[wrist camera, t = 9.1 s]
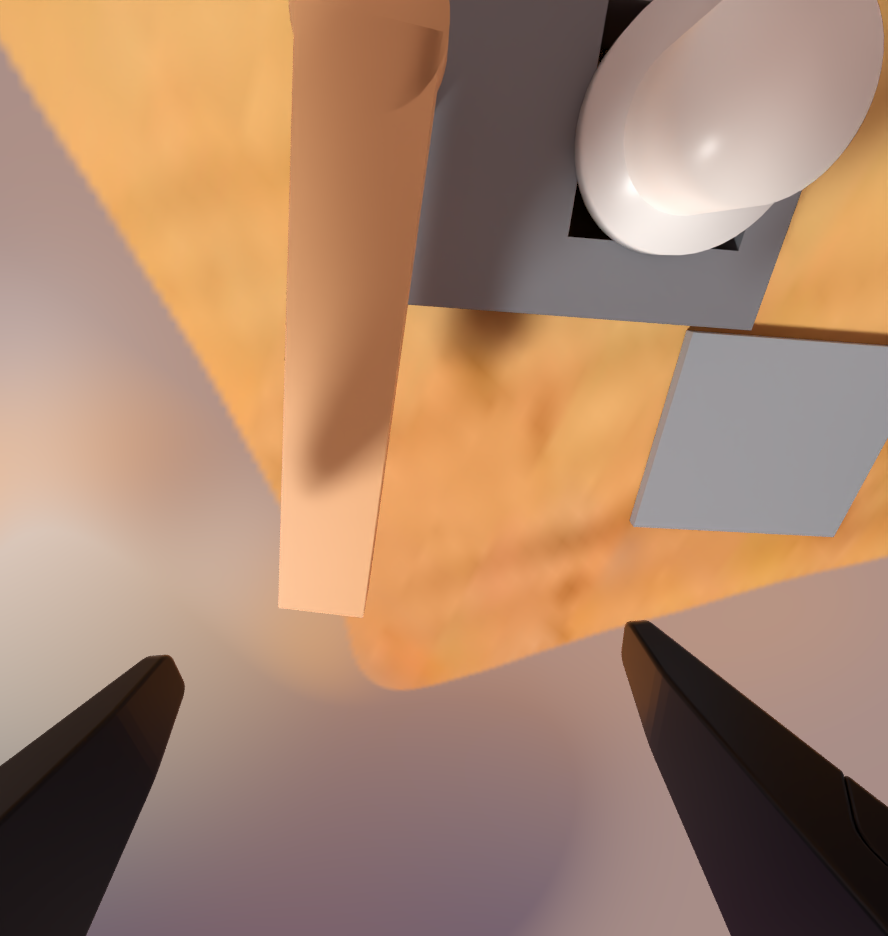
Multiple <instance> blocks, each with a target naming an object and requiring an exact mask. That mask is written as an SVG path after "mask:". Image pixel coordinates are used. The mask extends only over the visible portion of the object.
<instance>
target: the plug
mask: <svg viewBox="0 0 888 936" xmlns="http://www.w3.org/2000/svg"><path fill="white" fill-rule="evenodd" d="M883 53H884V31H883V21H882V16H881V12H880V8H879V4H878V2H877V0H653V1H652V2H651V3H650V4H649V5H648V6H647V7H645V8H644V9H643V10H642V11H641V12H640V14H639V15H638V16H637V17H636V18H635V19H634V20H633V21H632V22H631V24H630V25H629V26H628V27H627V28H626V29H625V30H624V32H623V33H622V34H621V35H620V36H619V37H618V39H617V40H616V41H615V42H614V43H613V45H612V46H611V48H610V49H609V50H608V52H607V53H606V55H605V56H604V57H603V59H602V61H601V62H600V64H599V66H598V68H597V69H596V71H595V73H594V75H593V77H592V79H591V82H590V84H589V86H588V88H587V91H586V93H585V97H584V100H583V103H582V106H581V109H580V113H579V118H578V123H577V128H576V137H575V168H576V177H577V181H578V185H579V190H580V193H581V196H582V198H583V201H584V204H585V206H586V208H587V210H588V211H589V213H590V215H591V217H592V218H593V220H594V221H595V222H596V224H597V225H598V227H599V228H600V229H601V230H602V231H603V232H604V233H605V234H606V235H607V236H608V237H610V238H611V239H612V240H614V241H615V242H616V243H618V244H620V245H622V246H624V247H626V248H628V249H630V250H633V251H636V252H639V253H644V254H651V255H686V254H693V253H698V252H701V251H705V250H709V249H711V248H713V247H716V246H718V245H721V244H723V243H725V242H726V241H728V240H730V239H732V238H734V237H735V236H737V235H738V234H740V233H741V232H743V231H744V230H745V229H747V228H748V227H750V226H751V225H752V224H753V223H754V222H755V221H757V220H758V219H759V218H760V217H761V216H762V215H763V214H764V213H765V212H766V211H767V210H768V209H769V208H770V207H771V206H772V205H773V204H774V202H778V201H780V200H783V199H785V198H787V197H790V196H792V195H793V194H795V193H797V192H799V191H801V190H802V189H804V188H805V187H807V186H808V185H809V184H811V183H812V182H814V181H815V180H816V179H817V178H818V177H820V176H821V175H822V174H823V173H824V172H825V171H826V170H827V169H828V168H829V167H830V166H831V165H832V164H833V163H834V162H835V161H836V160H837V159H838V158H839V156H840V155H841V154H842V153H843V151H844V150H845V149H846V148H847V146H848V145H849V143H850V142H851V140H852V139H853V137H854V136H855V134H856V133H857V131H858V129H859V128H860V126H861V124H862V122H863V120H864V118H865V116H866V114H867V112H868V110H869V107H870V105H871V103H872V100H873V97H874V94H875V91H876V88H877V85H878V81H879V77H880V73H881V68H882V60H883Z"/></svg>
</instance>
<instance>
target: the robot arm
mask: <svg viewBox="0 0 888 936" xmlns="http://www.w3.org/2000/svg"><path fill="white" fill-rule="evenodd" d="M621 653H622V661H623V665H624V668H625V671H626V675H627V678H628V681H629V684H630V687H631V690H632V694H633V697H634V700H635V703H636V706H637V709H638V712H639V716H640V719H641V722H642V725H643V728H644V731H645V734H646V737H647V740H648V743H649V746H650V748H651V751H652V753H653V756H654V758H655V761H656V763H657V765H658V768H659V770H660V772H661V774H662V777H663V779H664V782H665V784H666V786H667V788H668V791H669V793H670V795H671V798H672V800H673V802H674V805H675V807H676V809H677V812H678V814H679V816H680V819H681V821H682V823H683V826H684V828H685V830H686V833H687V835H688V837H689V839H690V842H691V844H692V846H693V849H694V851H695V853H696V856H697V858H698V860H699V863H700V865H701V867H702V870H703V872H704V874H705V876H706V879H707V881H708V884H709V886H710V888H711V890H712V893H713V895H714V897H715V900H716V902H717V904H718V906H719V909H720V911H721V914H722V916H723V918H724V921H725V923H726V925H727V928H728V930H729V932H730V935H731V936H888V807H887V806H886V805H885V804H884V803H882V802H881V801H880V800H878V799H877V798H876V797H874V796H873V795H872V794H871V793H869V792H868V791H867V790H865V789H864V788H863V787H862V786H860V785H859V784H858V783H856V782H855V781H854V780H853V779H851V778H850V777H848V776H845V777H844V775H843V773H842V771H841V770H839V769H838V768H837V767H836V766H834V765H833V764H832V763H831V762H829V761H828V760H827V759H825V758H824V757H822V755H820V754H819V753H818V752H816V751H815V750H814V749H812V748H811V747H810V746H809V745H807V744H806V743H805V742H803V741H802V740H801V739H799V738H798V737H797V736H796V735H795V734H793V733H792V732H791V731H789V730H788V729H787V728H785V727H784V726H783V725H782V724H781V723H779V722H778V721H777V720H775V719H774V718H773V717H772V716H770V715H769V714H768V713H766V712H765V711H764V710H762V709H761V708H760V707H759V706H757V705H756V704H755V703H754V702H752V701H751V700H749V699H748V698H747V697H746V696H745V695H743V694H742V693H740V692H739V691H738V690H737V689H736V688H734V687H733V686H732V685H731V684H729V683H728V682H727V681H725V680H724V679H723V678H722V677H720V676H719V675H718V674H716V673H715V672H714V671H713V670H711V669H710V668H709V667H708V666H706V665H705V664H704V663H702V662H701V661H700V660H699V659H697V658H696V657H695V656H693V655H692V654H691V653H690V652H688V651H687V650H686V649H684V648H683V647H682V646H681V645H679V644H678V643H677V642H675V641H674V640H673V639H672V638H670V637H669V636H668V635H666V634H665V633H664V632H663V631H661V630H660V629H659V628H658V627H656V626H655V625H654V624H652V623H651V622H649V621H646V620H642V621H629V622H627V623H626V625H625V628H624V637H623V644H622V652H621ZM184 690H185V685H184V681H183V679H182V677H181V675H180V673H179V670H178V668H177V666H176V665H175V662H174V660H173V659H172V657H170V656H169V655H156V656H148V657H146V658H144V659H143V660H141V661H140V662H139V663H137V664H136V665H134V666H133V667H132V668H130V669H129V670H128V671H127V672H125V673H124V674H122V675H121V676H120V677H118V678H117V679H116V680H115V681H113V682H112V683H110V684H109V685H108V686H106V687H105V688H104V689H102V690H101V691H100V692H98V693H97V694H96V695H95V696H93V697H92V698H90V699H89V700H88V701H86V702H85V703H84V704H82V705H81V706H80V707H78V708H77V709H76V710H74V711H73V712H72V713H70V714H69V715H68V716H66V717H65V718H64V719H62V720H61V721H60V722H59V723H57V724H56V725H54V726H53V727H52V728H50V729H49V730H48V731H46V732H45V733H44V734H42V735H41V736H40V737H38V738H37V739H36V740H34V741H33V742H32V743H30V744H29V745H28V746H26V747H25V748H24V749H22V750H21V751H20V752H19V753H17V754H16V755H14V756H13V757H12V758H10V759H9V760H8V761H6V762H5V763H4V764H2V765H1V766H0V936H86V935H87V932H88V930H89V928H90V925H91V923H92V921H93V918H94V916H95V914H96V912H97V910H98V907H99V905H100V903H101V901H102V898H103V896H104V894H105V892H106V889H107V887H108V885H109V882H110V880H111V878H112V876H113V873H114V871H115V869H116V867H117V864H118V862H119V860H120V857H121V855H122V853H123V850H124V848H125V846H126V844H127V841H128V839H129V837H130V835H131V833H132V830H133V828H134V826H135V823H136V821H137V819H138V817H139V814H140V812H141V810H142V807H143V805H144V803H145V801H146V798H147V796H148V794H149V791H150V789H151V787H152V784H153V782H154V780H155V777H156V774H157V772H158V769H159V766H160V763H161V761H162V758H163V755H164V752H165V749H166V746H167V743H168V740H169V737H170V734H171V731H172V728H173V725H174V722H175V719H176V716H177V714H178V711H179V708H180V704H181V701H182V699H183V696H184Z"/></svg>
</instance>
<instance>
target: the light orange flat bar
mask: <svg viewBox="0 0 888 936" xmlns="http://www.w3.org/2000/svg"><path fill="white" fill-rule="evenodd" d="M289 12H290V20H291V25H292V30H293V34H294V45H293V82H292V119H291V156H290V193H289V230H288V267H287V304H286V341H285V378H284V415H283V452H282V489H281V526H280V527H281V528H280V563H279V565H280V566H279V601H278V602H279V603H278V607H279V608H286V609H294V610H302V611H310V612H319V613H327V614H336V615H343V616H352V617H360V618H363V615H364V610H365V605H366V600H367V594H368V589H369V582H370V575H371V567H372V560H373V553H374V546H375V538H376V531H377V524H378V517H379V509H380V502H381V495H382V488H383V480H384V473H385V466H386V459H387V452H388V444H389V437H390V430H391V423H392V415H393V408H394V401H395V394H396V386H397V379H398V372H399V365H400V357H401V350H402V343H403V336H404V328H405V321H406V314H407V307H408V299H409V292H410V285H411V278H412V271H413V263H414V256H415V249H416V242H417V234H418V227H419V220H420V213H421V205H422V198H423V191H424V184H425V176H426V169H427V162H428V155H429V147H430V140H431V133H432V126H433V119H434V111H435V104H436V97H437V92H438V89H439V87H440V85H441V82H442V79H443V76H444V73H445V68H446V63H447V54H448V41H449V26H450V2H449V0H289Z"/></svg>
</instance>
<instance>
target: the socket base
mask: <svg viewBox="0 0 888 936" xmlns="http://www.w3.org/2000/svg"><path fill="white" fill-rule="evenodd" d="M652 1H653V0H449V2H450V26H449V41H448V54H447V63H446V68H445V73H444V76H443V79H442V82H441V85H440V87H439V89H438V92H437V97H436V104H435V111H434V119H433V126H432V133H431V140H430V147H429V155H428V162H427V169H426V176H425V184H424V191H423V198H422V205H421V213H420V220H419V227H418V234H417V242H416V249H415V256H414V263H413V271H412V278H411V285H410V292H409V299H408V305H421V306H434V307H447V308H460V309H474V310H487V311H500V312H514V313H527V314H540V315H554V316H567V317H580V318H593V319H607V320H620V321H633V322H647V323H660V324H673V325H686V326H700V327H713V328H726V329H740V330H752V327H753V324H754V322H755V319H756V316H757V313H758V310H759V308H760V305H761V302H762V299H763V297H764V294H765V291H766V288H767V286H768V283H769V280H770V277H771V274H772V272H773V269H774V266H775V263H776V261H777V258H778V255H779V252H780V249H781V247H782V244H783V241H784V238H785V236H786V233H787V230H788V227H789V225H790V222H791V219H792V216H793V213H794V211H795V208H796V205H797V202H798V200H799V197H800V194H801V191H802V190H801V191H799V192H797V193H795V194H793V195H792V196H790V197H787V198H785V199H783V200H780V201H778V202H774V204H773V205H772V206H771V207H770V208H769V209H768V210H767V211H766V212H765V213H764V214H763V215H762V216H761V217H760V218H759V219H758V220H757V221H755V222H754V223H753V224H752V225H751V226H750V227H748V228H747V229H745V230H744V231H743V232H741V233H740V234H738V235H737V236H735V237H734V238H732V239H730V240H728V241H726V242H725V243H723V244H721V245H718V246H716V247H713V248H711V249H709V250H705V251H701V252H698V253H693V254H686V255H651V254H644V253H639V252H636V251H633V250H630V249H628V248H626V247H624V246H622V245H620V244H618V243H616V242H615V241H613V240H601V239H589V238H577V237H568V233H569V227H570V221H571V216H572V210H573V204H574V198H575V192H576V187H577V177H576V168H575V137H576V128H577V123H578V118H579V113H580V109H581V106H582V103H583V100H584V97H585V93H586V91H587V88H588V86H589V84H590V82H591V79H592V77H593V75H594V73H595V71H596V69H597V65H598V59H599V53H600V48H603V49H610V48H611V46H612V45H613V43H614V42H615V41H616V40H617V39H618V37H619V36H620V35H621V34H622V33H623V32H624V30H625V29H626V28H627V27H628V26H629V25H630V24H631V22H632V21H633V20H634V19H635V18H636V17H637V16H638V15H639V14H640V12H641V11H642V10H643V9H644V8H645V7H647V6H648V5H649V4H650V3H651V2H652Z"/></svg>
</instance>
